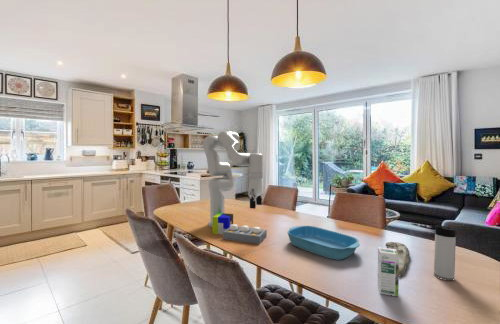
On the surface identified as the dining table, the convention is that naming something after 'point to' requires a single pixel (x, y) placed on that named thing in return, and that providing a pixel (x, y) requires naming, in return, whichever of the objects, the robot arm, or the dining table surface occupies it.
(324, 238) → the casserole dish
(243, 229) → the middle button
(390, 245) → the long grey stone
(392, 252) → the syrup box
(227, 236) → the button board
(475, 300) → the dining table surface
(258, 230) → the button
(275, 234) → the dining table surface
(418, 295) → the dining table surface
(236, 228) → the button
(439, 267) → the travel mug
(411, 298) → the dining table surface
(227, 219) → the puzzle toy
